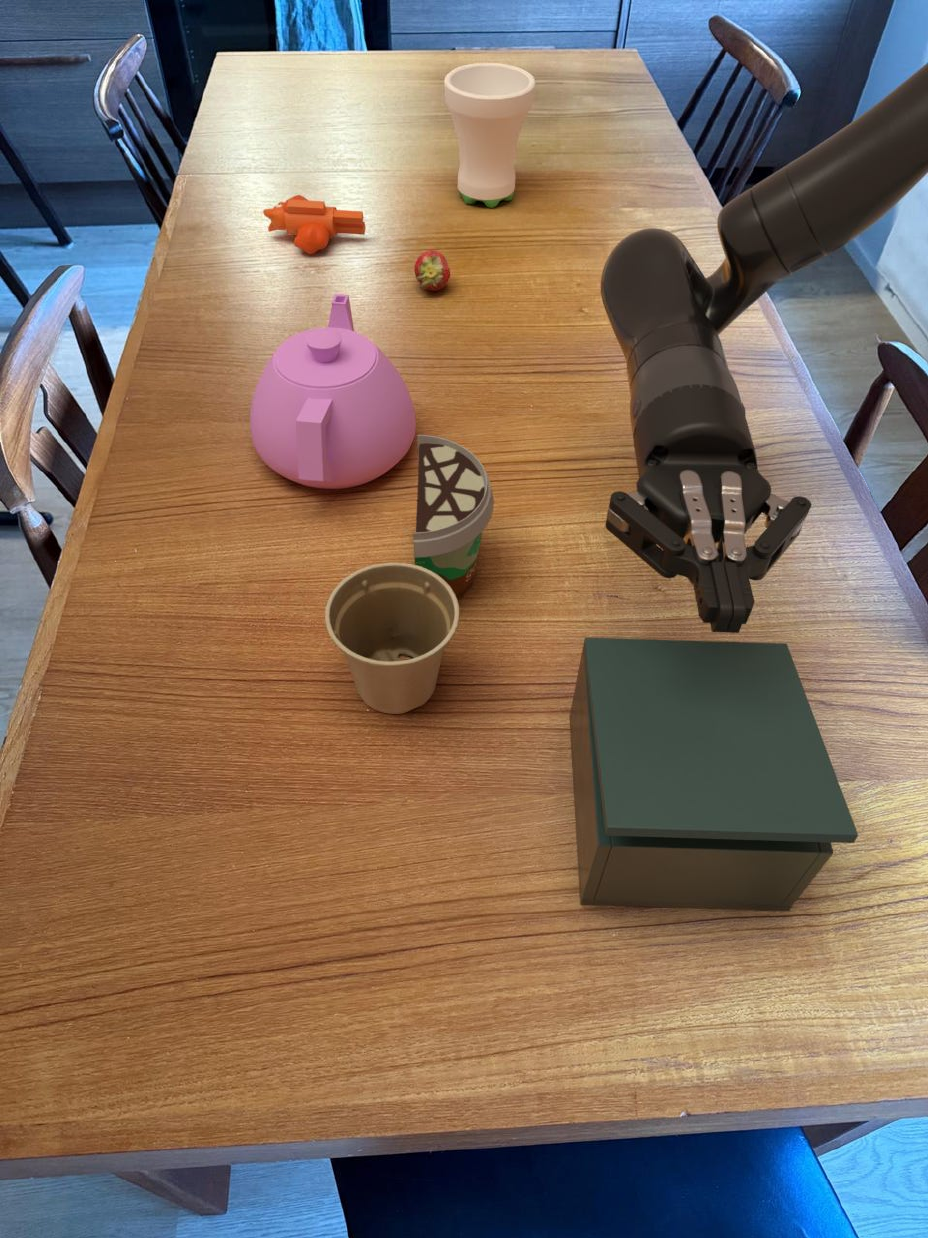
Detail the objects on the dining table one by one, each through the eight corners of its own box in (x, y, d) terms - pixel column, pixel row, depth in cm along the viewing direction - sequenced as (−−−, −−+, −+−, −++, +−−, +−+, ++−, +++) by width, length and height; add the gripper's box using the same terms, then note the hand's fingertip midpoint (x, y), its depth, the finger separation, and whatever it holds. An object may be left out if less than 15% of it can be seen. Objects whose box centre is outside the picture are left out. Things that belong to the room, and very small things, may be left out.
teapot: (407, 527, 80) (402, 418, 71) (234, 520, 80) (206, 411, 71) (424, 378, 94) (421, 271, 85) (276, 373, 94) (257, 266, 85)
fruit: (453, 274, 107) (454, 234, 103) (447, 301, 104) (448, 260, 100) (418, 271, 108) (417, 231, 104) (411, 299, 104) (410, 258, 100)
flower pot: (449, 628, 73) (450, 555, 66) (466, 726, 67) (468, 657, 60) (333, 640, 72) (321, 567, 65) (339, 740, 66) (328, 671, 59)
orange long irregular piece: (364, 189, 108) (266, 184, 109) (355, 238, 106) (255, 232, 106) (368, 221, 113) (275, 216, 114) (361, 268, 110) (265, 262, 111)
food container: (491, 625, 73) (497, 539, 65) (416, 624, 73) (413, 538, 65) (488, 519, 81) (492, 431, 73) (420, 518, 81) (417, 430, 73)
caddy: (788, 911, 58) (834, 853, 52) (580, 905, 58) (597, 845, 52) (749, 721, 68) (783, 651, 61) (569, 716, 68) (583, 645, 61)
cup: (544, 197, 120) (554, 81, 109) (484, 224, 115) (488, 105, 104) (487, 168, 125) (491, 54, 114) (427, 193, 120) (425, 76, 109)
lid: (854, 843, 49) (859, 835, 48) (605, 836, 49) (607, 827, 48) (783, 651, 61) (786, 642, 60) (583, 645, 61) (584, 636, 60)
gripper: (769, 471, 64) (825, 667, 53) (585, 466, 64) (602, 660, 53) (801, 384, 58) (871, 583, 47) (599, 378, 58) (621, 575, 47)
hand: (728, 623), depth 50 cm, fingers closed
